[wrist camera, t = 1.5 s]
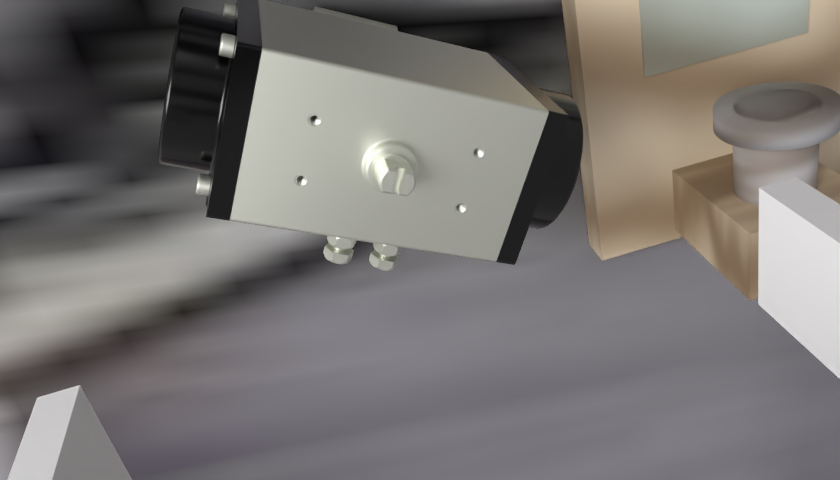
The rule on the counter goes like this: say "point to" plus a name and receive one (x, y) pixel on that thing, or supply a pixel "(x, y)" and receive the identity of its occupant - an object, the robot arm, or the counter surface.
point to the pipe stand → (701, 118)
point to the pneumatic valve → (365, 133)
